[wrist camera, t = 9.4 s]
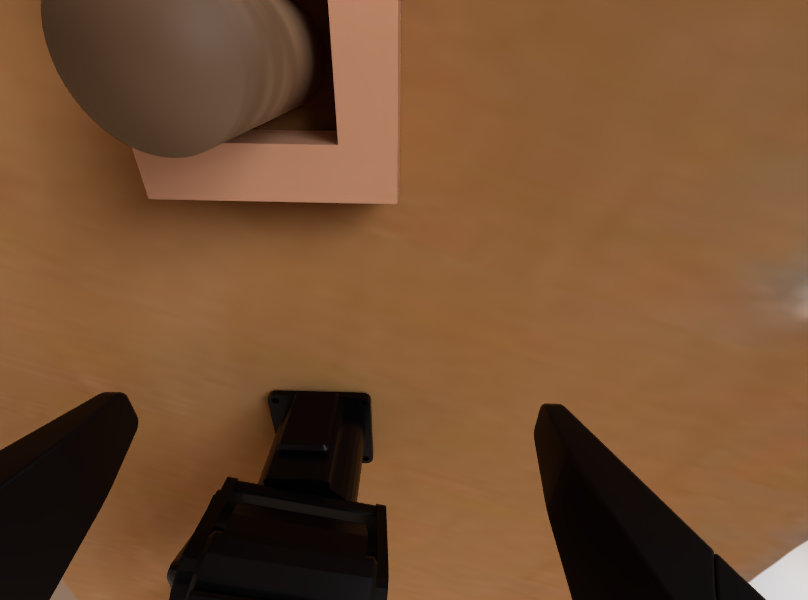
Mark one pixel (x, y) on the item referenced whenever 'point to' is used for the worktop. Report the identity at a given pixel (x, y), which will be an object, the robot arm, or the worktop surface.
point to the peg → (184, 66)
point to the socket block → (312, 131)
